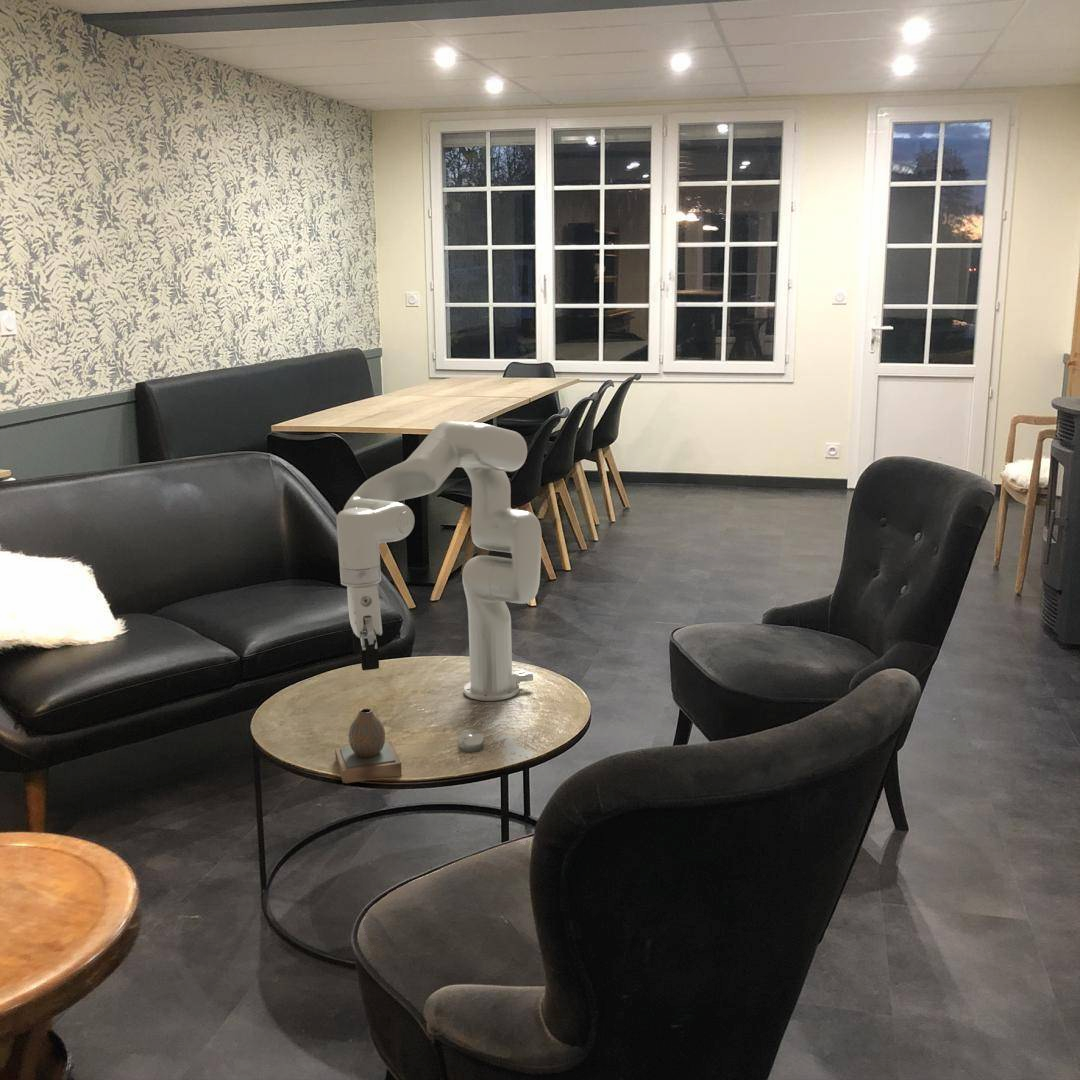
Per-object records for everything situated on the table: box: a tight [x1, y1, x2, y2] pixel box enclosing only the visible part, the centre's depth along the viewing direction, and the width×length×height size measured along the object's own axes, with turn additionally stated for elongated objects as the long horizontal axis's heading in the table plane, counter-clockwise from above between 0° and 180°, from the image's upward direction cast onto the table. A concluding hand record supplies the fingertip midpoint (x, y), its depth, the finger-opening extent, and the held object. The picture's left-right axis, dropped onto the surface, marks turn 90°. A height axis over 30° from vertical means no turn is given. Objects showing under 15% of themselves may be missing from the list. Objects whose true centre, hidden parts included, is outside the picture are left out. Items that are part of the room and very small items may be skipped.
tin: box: [457, 729, 485, 754], centre depth 222 cm, size 5×5×3 cm
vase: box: [348, 708, 386, 758], centre depth 213 cm, size 7×7×9 cm
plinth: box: [334, 740, 403, 784], centre depth 214 cm, size 11×11×3 cm
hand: (366, 660), depth 212 cm, fingers open, 9 cm apart
